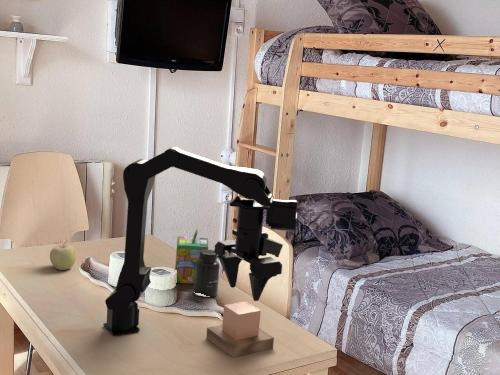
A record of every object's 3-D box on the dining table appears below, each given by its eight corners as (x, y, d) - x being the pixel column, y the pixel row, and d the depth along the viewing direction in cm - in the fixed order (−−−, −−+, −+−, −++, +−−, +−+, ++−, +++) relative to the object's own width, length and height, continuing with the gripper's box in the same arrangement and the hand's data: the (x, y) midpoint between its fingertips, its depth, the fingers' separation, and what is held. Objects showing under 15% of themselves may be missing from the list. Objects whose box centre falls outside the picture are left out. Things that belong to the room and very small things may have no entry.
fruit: (81, 268, 188) (82, 242, 186) (61, 274, 182) (62, 247, 180) (63, 262, 192) (64, 236, 190) (43, 268, 185) (44, 241, 184)
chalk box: (174, 273, 190) (177, 225, 188) (205, 274, 191) (208, 226, 189) (173, 283, 181) (176, 233, 179) (205, 285, 182) (209, 235, 180)
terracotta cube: (236, 340, 142) (238, 314, 141) (222, 329, 147) (224, 305, 146) (258, 335, 146) (260, 310, 144) (243, 325, 150) (245, 301, 149)
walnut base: (232, 357, 139) (233, 346, 139) (206, 337, 148) (207, 327, 147) (272, 347, 145) (273, 337, 145) (245, 329, 154) (246, 319, 154)
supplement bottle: (214, 299, 172) (217, 257, 169) (189, 296, 173) (192, 253, 171) (220, 291, 178) (223, 250, 176) (196, 287, 180) (199, 246, 177)
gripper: (304, 234, 139) (298, 302, 142) (254, 214, 154) (249, 276, 156) (263, 239, 132) (257, 310, 135) (215, 217, 147) (210, 282, 150)
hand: (244, 293), depth 144 cm, fingers open, 9 cm apart
